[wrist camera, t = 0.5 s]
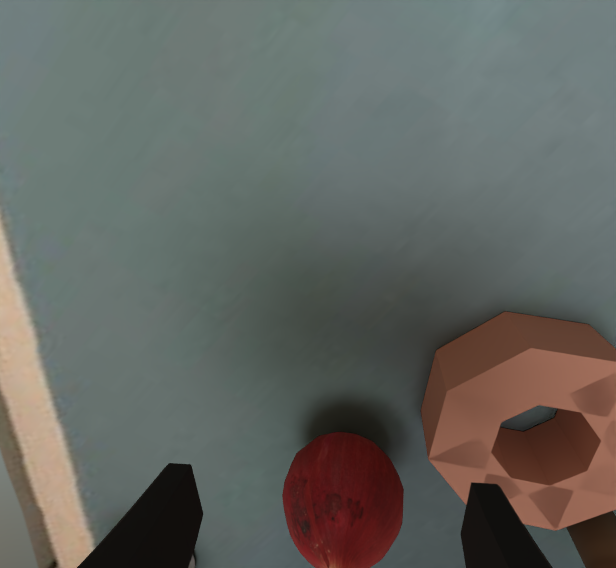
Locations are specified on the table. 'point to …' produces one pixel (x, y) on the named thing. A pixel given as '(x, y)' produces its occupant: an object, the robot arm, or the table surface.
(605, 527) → the case
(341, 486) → the onion
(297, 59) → the table surface
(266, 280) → the table surface
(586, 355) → the orange octagonal ring
